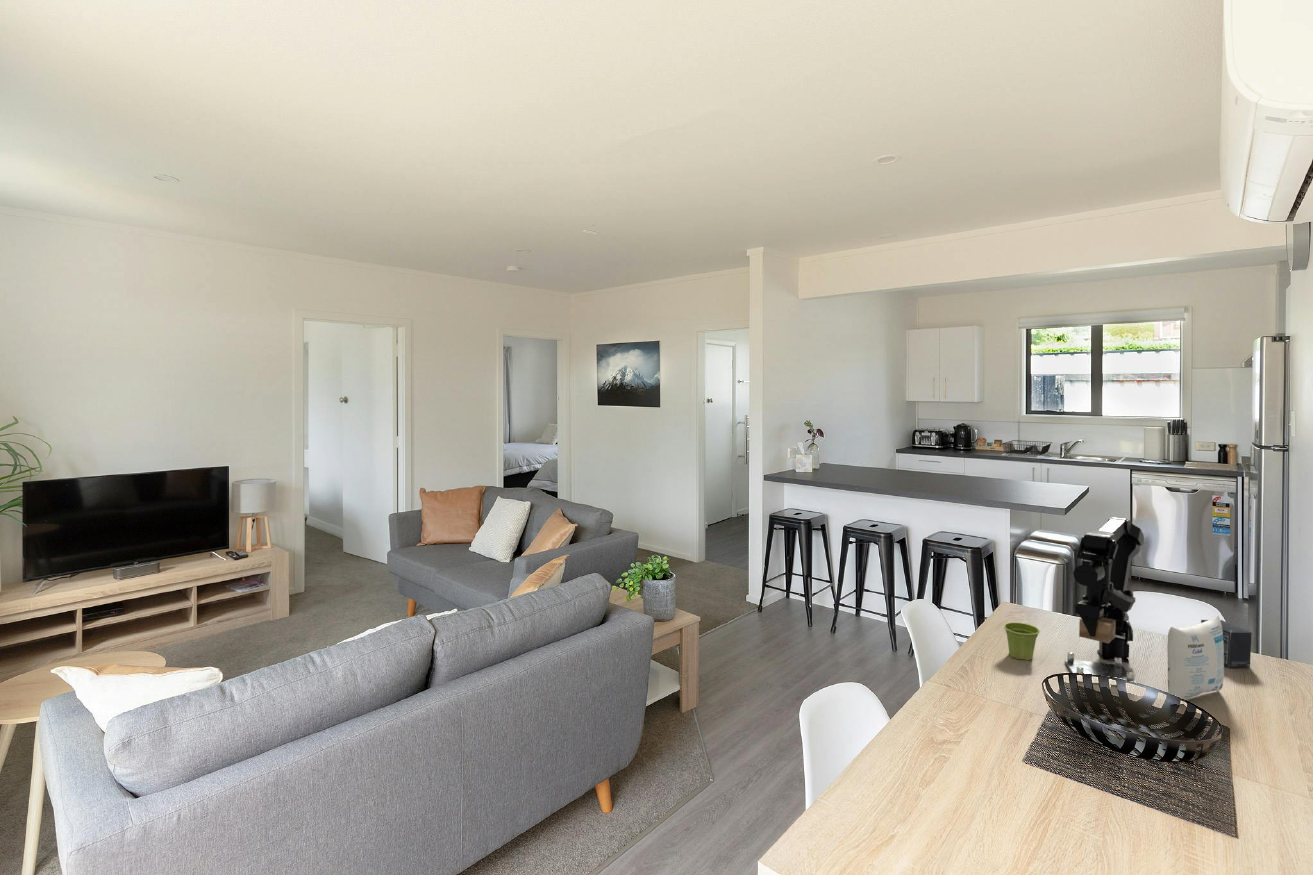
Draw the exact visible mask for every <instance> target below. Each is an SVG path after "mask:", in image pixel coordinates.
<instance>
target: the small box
mask: <svg viewBox="0 0 1313 875" xmlns="http://www.w3.org/2000/svg"><path fill="white" fill-rule="evenodd" d="M1208 620H1209V619H1201V620H1200V623H1203V622H1205V621H1208ZM1220 621H1221V625H1222V630H1223V644H1224V667H1226V668H1228V669H1230V668H1231V669H1239V668H1240V669H1244V668H1245V669H1249V668H1251V653H1252V652H1251V651H1252V649H1251V648H1252V635H1253V634H1252V631H1249V630H1247V629H1244V628H1241V627H1240V626H1237V625H1235V624H1232V623H1230V622H1227V621H1224V620H1222V619H1220Z"/></svg>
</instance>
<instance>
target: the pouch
mask: <svg viewBox="0 0 1313 875" xmlns="http://www.w3.org/2000/svg"><path fill="white" fill-rule="evenodd" d="M1207 620H1208V621H1205V622H1203V623H1201V622H1200V623H1197V624H1193V625H1191V626H1189V627H1180V628H1178V627H1177V628H1176V627H1174V626H1171V627H1170V628H1169V630H1168V632H1167V644H1166V645H1167V648H1166V649H1167V651H1166V652H1167V690H1168V695H1169V694H1173V695H1176V696H1178V697H1180V698H1181V699H1185V700H1184V701H1186V700H1188V699H1192V698H1194V697H1198V696H1200V695H1202V694H1204V693H1211V692H1218V693H1219V692H1221V690H1222V689H1223V686H1224V678H1225V676H1224V675H1225V673H1224V672H1225V666H1224V644H1223V630H1222V625H1221V621H1220V620H1221V619H1220V616H1219V615H1218V616H1215V617H1212V618H1210V619H1207Z"/></svg>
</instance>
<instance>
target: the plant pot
mask: <svg viewBox="0 0 1313 875" xmlns="http://www.w3.org/2000/svg"><path fill="white" fill-rule="evenodd" d="M1003 628H1004V631H1005V633H1006V639H1007V645H1008V646H1007V647H1008V654H1009V656H1010V657H1012V658H1014V659H1017V660H1026V661H1029V660H1032V659H1033V657H1034V652H1035V645H1036V642H1037V641H1036V640H1037V638H1038V635H1039V634H1040V628H1038V627H1037V626H1034V625H1032V624H1029V623H1028V624H1027V623H1025V622H1007V623H1005V624H1003Z"/></svg>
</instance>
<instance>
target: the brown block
mask: <svg viewBox="0 0 1313 875" xmlns="http://www.w3.org/2000/svg"><path fill="white" fill-rule="evenodd" d="M1115 624H1116V620H1112V619H1107V618H1103V617H1102V618H1101V619H1099V621H1098V626H1097V630H1096V634H1095V637H1092V636H1090V635H1089V633H1088V631H1087V629H1086V627H1085V625H1084V623H1083V621H1082V619H1081V617H1080V618H1079V630H1078V636H1079V637H1080V638H1084V639H1088V640H1092V641H1097V642H1099V641H1100V642H1105V643H1110V642H1111V641H1112V640H1113V639H1114V638H1115Z"/></svg>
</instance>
